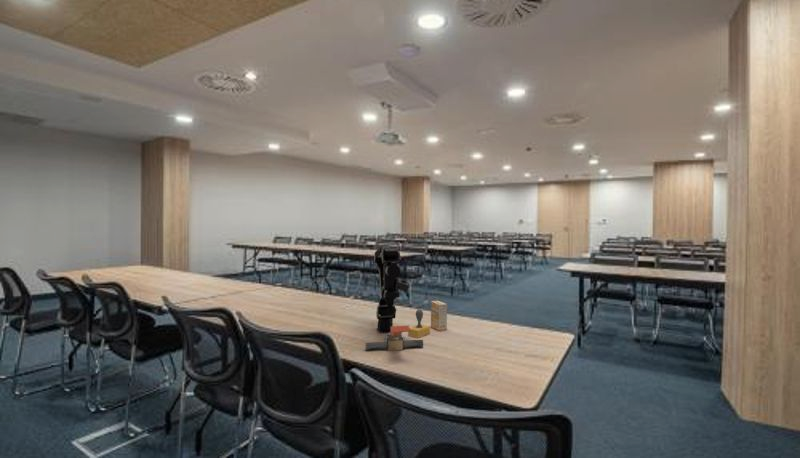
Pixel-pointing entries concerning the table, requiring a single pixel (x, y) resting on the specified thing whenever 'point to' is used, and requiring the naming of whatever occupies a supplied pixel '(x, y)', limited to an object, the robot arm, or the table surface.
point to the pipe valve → (394, 344)
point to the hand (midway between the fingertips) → (390, 310)
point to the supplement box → (439, 315)
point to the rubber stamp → (419, 327)
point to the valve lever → (398, 330)
